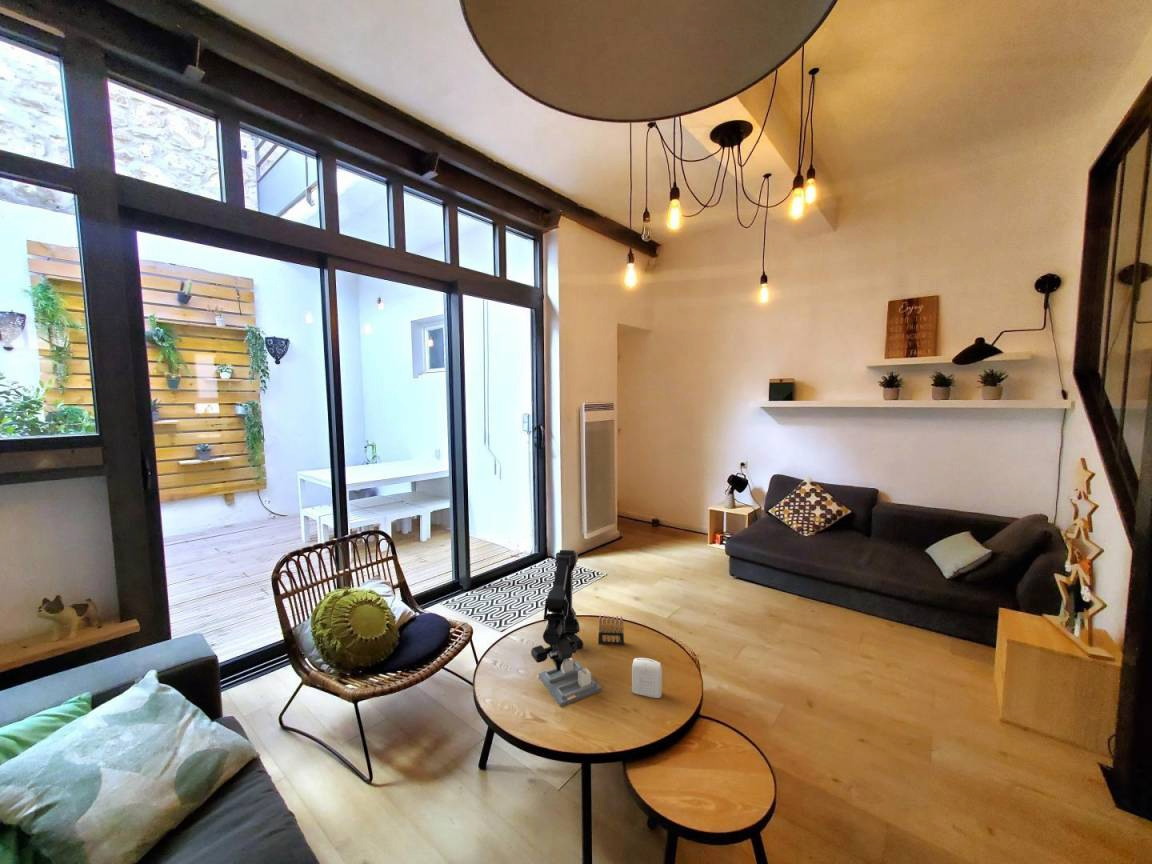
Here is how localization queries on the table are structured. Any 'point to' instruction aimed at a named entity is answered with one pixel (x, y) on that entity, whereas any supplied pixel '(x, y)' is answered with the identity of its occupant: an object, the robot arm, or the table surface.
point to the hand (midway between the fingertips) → (558, 669)
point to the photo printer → (647, 677)
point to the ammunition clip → (611, 631)
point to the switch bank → (567, 685)
